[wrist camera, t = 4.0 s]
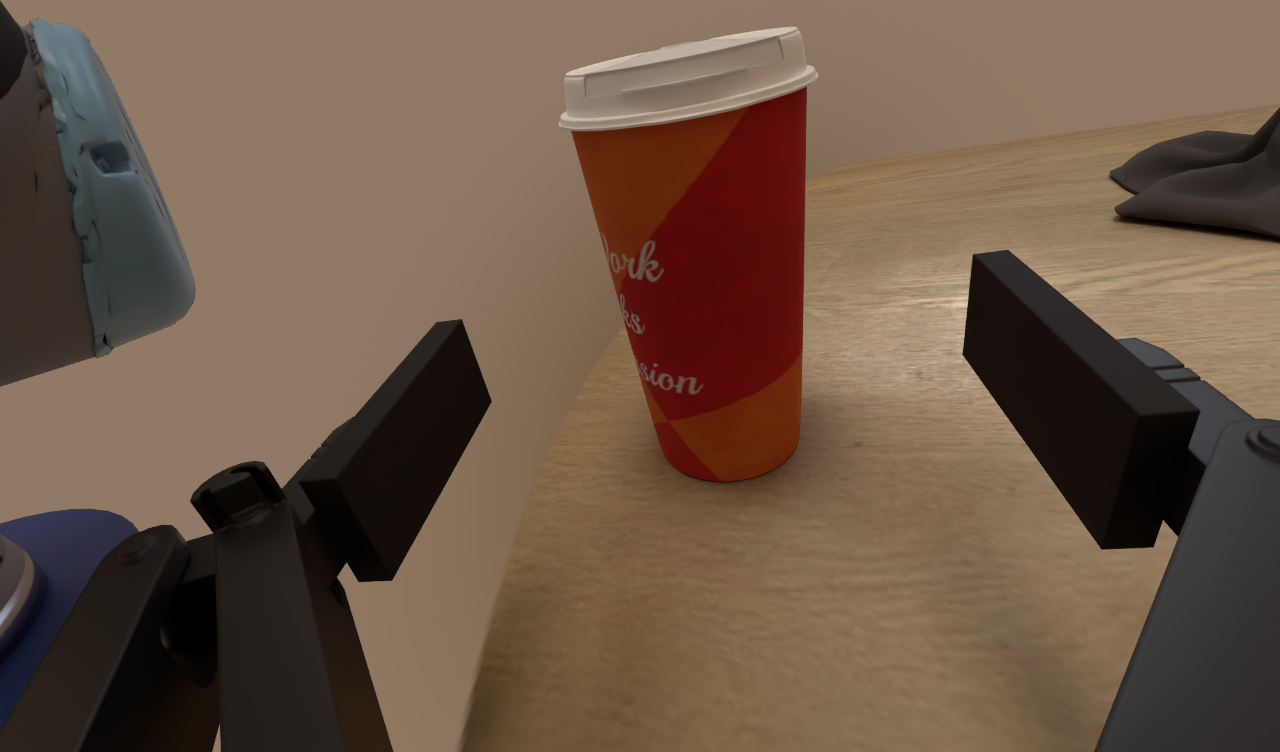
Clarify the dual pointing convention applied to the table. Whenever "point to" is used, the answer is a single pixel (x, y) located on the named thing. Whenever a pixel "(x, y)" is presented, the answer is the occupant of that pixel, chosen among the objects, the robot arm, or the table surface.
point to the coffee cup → (705, 236)
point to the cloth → (1208, 180)
